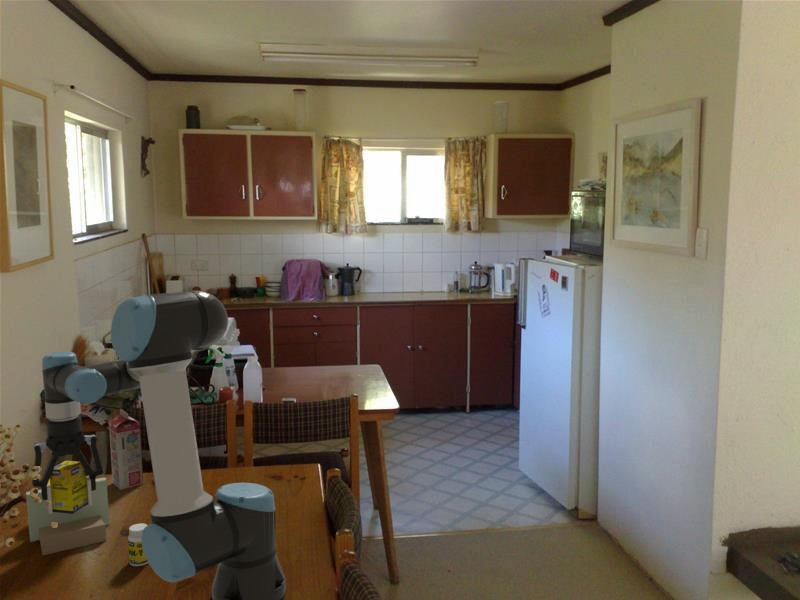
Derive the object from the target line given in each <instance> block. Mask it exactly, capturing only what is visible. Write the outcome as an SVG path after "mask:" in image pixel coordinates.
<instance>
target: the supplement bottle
mask: <svg viewBox="0 0 800 600" xmlns="http://www.w3.org/2000/svg"><path fill="white" fill-rule="evenodd" d="M147 525H148V524H147V523H136V524H132V525H130V526H129V528H128V532H129V533H128V534H129V535H128V537H127V550H128V563H129V565H130V566H132V567H142V566H145V565H147V564H149V562H148V560H147V558H146V556H145V553H144V550H143V546H142V534H143V533H142V532H143V530H144V528H145V527H147Z"/></svg>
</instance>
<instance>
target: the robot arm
mask: <svg viewBox="0 0 800 600" xmlns="http://www.w3.org/2000/svg"><path fill="white" fill-rule="evenodd" d="M227 312H228V311H227V310H226V308H225V305H224V304H223V303H222V302H221V301H220V299H218V297H216V296H215V295H213V294H211V293H209V292H207V291H202V290H195V289H194V290H185V291H177V292H176V291H175V292H166V293H153V294H152V293H151V294H143V295H138V296H135V297H133V296H132V297H130V298H126V299H124V300H123V301H122V302H120V303H119V305H117V307H116V309H115V312H114V314H113V316H112V321H111V326H110V340H111V346H112V349H113V350H114V351H115V355H116V357H117V358H118V359H119V360H114V361H108V362H103V363H98V364H91V365H84V366H81V365H79V361H78V357H77V354H76V353H75V352H74V351H57V352H51V353H48V354H47V353H46V354H45V355H44V356H43V357H42V363H41V365H42V368H41V372H42V381H43V392H44V404H45V405H44V408H45V418H47V420H46V432H47V437H46V440H45V441H44V442H43V441H42V442H39V443H38V442H36V443H34V444H33V449H34V454H35V455H34V461H33V462H34V463H33V467H34V466H40V468H41V465H42V459H43V457H42V456H43V455H42V454H43V453H44V452H45V449H46V448H48V449H49V450H50V451H51V454H50V458H49V460H48V463H47V465H46V468H45V470H44V473H43V475H42V478H41V479H40V478H39V479H37V480H33V479H32V478H31V483H32V484H31V485H32V486H33V487H34V488H36V487H37V488H38V487H39V488H40V489H41V493H42V499H43V500H50V501H51V505H50V506H48V512H49V514H51V513H53V512H52V499H51V487H50V483H49V484H48V482H49V479H50V477H51V474H52V472H53V469H54V467H55V466H56V465H57V462H58V460H59V458H60V457H65V456H69V455H70V456H72V455H75V456H76V457H77V459H78V461H79V462H81V464H82V465H83V467H84V468H85V470H86V474H87V475H88V476H87V475H86V479H87V495H88V504H89V506H90V505H92V492H91V491H94V490H96V480H95V479H97V477H98V476H101V475H103V473H104V469H103V466H102V464H101V462H102V461H101V459H100V455H99V452H98V448H97V441H98V440H97V439H98V438H97V436H96V435H95V434H90V435H84V433H83V424H82V423H83V422H82V416H81V412H82V408H81V404H82V403H84V404H93V403H95V402H96V403H97V401H99V400H100V399H102V398H103V397H104V396H110V395H113V394H118V393H121V392H122V393H123V392H126V391H127V392H128V391H130V390H137V389H140V394H141V401H142V407H143V413H144V420H145V427H146V433H147V439H148V440H147V441H148V447H149V454H150V460H151V466H152V467H151V468H152V474H153V480H154V485H155V493H156V503H155V504H154V505H153V506H152V508H151V509H150V519H151V523H149V524H146V525H147V527H145V528H144V530H143V532H142V533H143V534H142V546H143V550H144V553H145V556H146V558H147V560H148V562H149V563H148V564H149V566H150V567H151V569H152V570H153V571H154V573H155V574H156V575H157V576H158V577H159V578H160V579H162V580H163V581H166V582H168V583H177V582H180V581H182V580H184V579H188V578H192V577H194V576H195V575H197V574H200V573H202V572H203V571H206V570H209V569H210V568H212V567H214V566H216V565H218V566H217V568H216V572H215V574H214V579H213V581H212V584H211V585H212V587H211V599H212V600H282V599H283V597H284V596H285V594H286V591H287V589H286V586H287V585H286V577H285V574H284V572H283V569H282V567H281V563H280V561H279V559H278V556H277V545H276V544H277V541H276V538H277V536H276V509H277V508H276V505H275V497H274V496H275V495H274V493H273V491H272V490H271V489H270V488H268V487H267V486H265V485H262V484H259V483H254V482H253V483H252V482H233V483H226V484H224V485H222V486H220V487H219V488H217V490H216V492H215V495H214V496H215V499H216V500H214V497H213V496H212V495H210V494H209V493H208V492H206V491H205V490H204V484H203V478H202V471H201V465H200V464H201V463H200V458H199V450H198V444H197V436H196V432H195V431H196V430H195V424H194V423H195V422H194V417H193V416H194V415H193V410H192V405H191V398H190V391H189V384H188V378H187V370H186V369H187V367H188V366H189V364H190V363H192V361H193V354H192V353H194V352H202V351H205V350H207V349H208V348H210V347H212V346H213V345H216V344H217V343H218V342H220V340H221V339H222V338H223V337H224V335H225V334H226V331H227V329H228V327H229V317H228V316H229V315H228V313H227ZM85 441H86V443H87V445H89V448H90V451H91V455H92V459H93V463H94V466H95V467H94V469H93V468H92V466H91V465H90V463H89V462H88V461H87V459H86V457H85V455H84V454H83V452H82V450H81V446H82V445H83V443H84V442H85Z"/></svg>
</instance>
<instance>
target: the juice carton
mask: <svg viewBox="0 0 800 600" xmlns="http://www.w3.org/2000/svg"><path fill="white" fill-rule="evenodd" d="M108 429H109V445H110V446H109V447H110V460H111V462H110V463H111V475H112V476H111V477H112V484H113V485H114V486H115V487H117V489H118V490H120V491H121V490H126V489H130V488H132V487H138V486H141V485H144V474H143V456H142V453H143V452H142V439H141V438H142V437H141V423H140V422H139V421H138V420H136V419H135V418H133V417H131V416H129V412H126V411H124V410H123V409H122V408H119V414H118V415H116V416H114V417H113V418H112V419H111V420H110V421H108Z"/></svg>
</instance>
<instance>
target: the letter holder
mask: <svg viewBox="0 0 800 600" xmlns="http://www.w3.org/2000/svg"><path fill="white" fill-rule="evenodd" d="M95 480H96V490H94V491H91V492H92V505H90V506H89V504H88V505H86V506H84V507H82V508H81V509H79V510H78V511H76V512H75V513H74V514H68V513H57V512H53V513H51V514H49V512H48V505H47V502H46V500H43V499H42V493H41V488H40V489H37V490H38V496H39V497H40V499H41V500H42V502H41V503H36V502H34V501H33V499H32V498H31V496H30V491H26V492H25V496H26V507H27V520H28V530H29V542H30V543H33V542H36V541H37V540H38V541H39V542H40V543H39V544H40V549H41V554H42V556H46V555H51V554H54V553H59V552H64V551H68V550H72V549H76V548H82V547H85V546H90V545H93V544H98V543H101V542H102V543H103V542H106V541H108V540H107V539H108V538H107V527H106V526H109V525H111V524H110V512H109V498H108V497H109V495H108V481H107V478H106V476H104V477H99V478H95ZM51 522H58V527H57V528H52V527H51Z"/></svg>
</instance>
